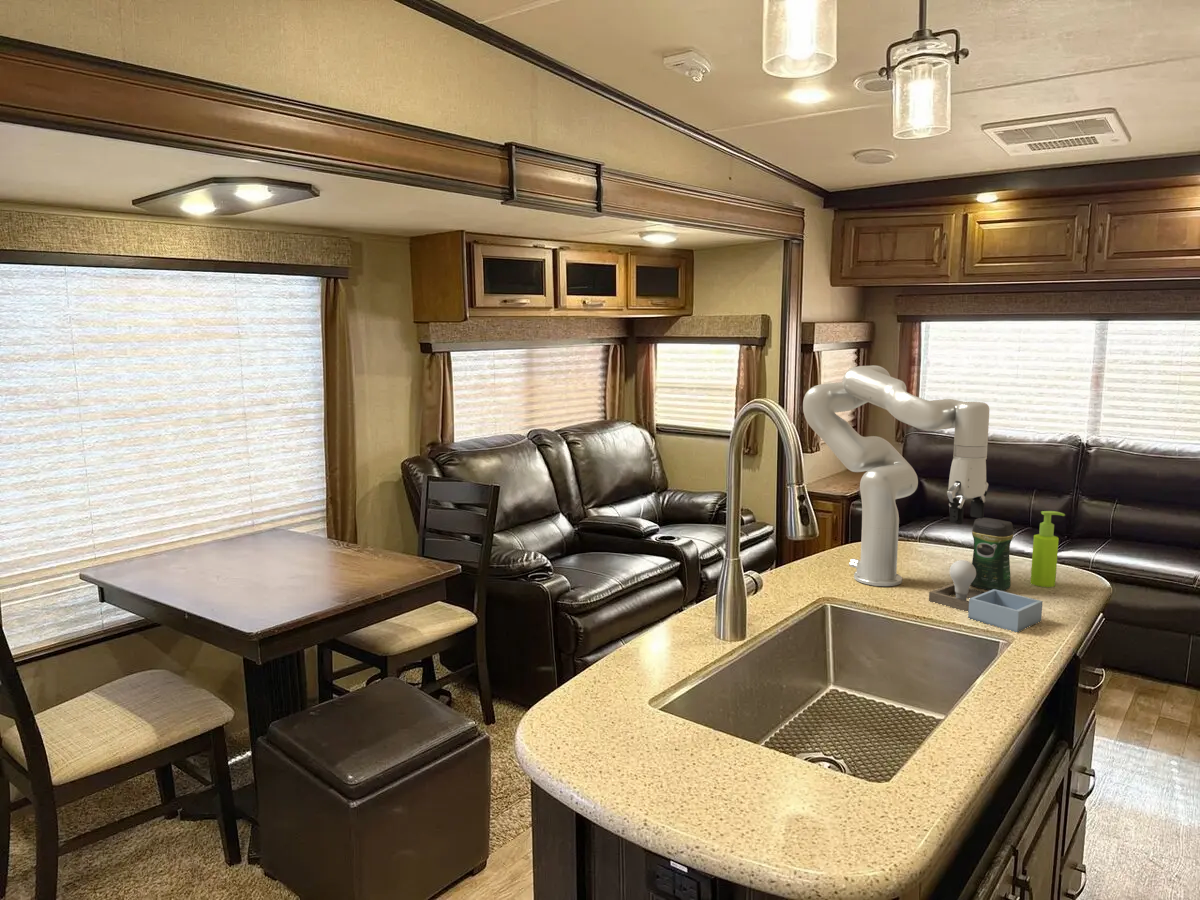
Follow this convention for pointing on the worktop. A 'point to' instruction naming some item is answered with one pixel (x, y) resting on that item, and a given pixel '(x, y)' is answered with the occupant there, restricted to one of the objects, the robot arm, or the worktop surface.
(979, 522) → the coffee jar
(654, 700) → the worktop surface
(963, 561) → the lightbulb
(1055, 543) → the soap dispenser
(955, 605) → the socket collar
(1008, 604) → the box
